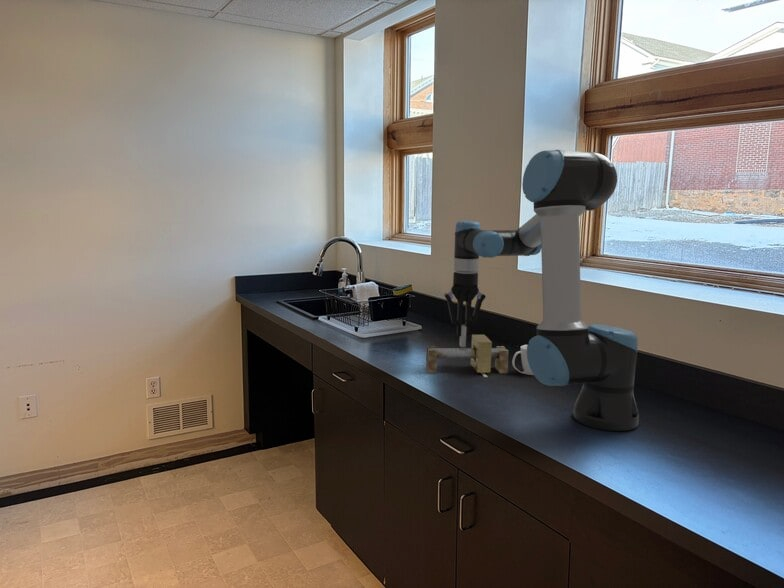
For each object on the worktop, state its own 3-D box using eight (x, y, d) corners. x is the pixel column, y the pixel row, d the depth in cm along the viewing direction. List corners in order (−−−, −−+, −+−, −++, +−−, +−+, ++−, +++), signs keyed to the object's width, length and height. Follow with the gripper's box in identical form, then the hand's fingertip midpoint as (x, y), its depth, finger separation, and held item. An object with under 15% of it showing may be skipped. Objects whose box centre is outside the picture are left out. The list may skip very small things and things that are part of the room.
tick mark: (477, 363, 193) (477, 363, 193) (487, 377, 179) (487, 376, 179) (474, 363, 193) (474, 363, 193) (484, 377, 179) (484, 376, 179)
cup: (546, 375, 183) (548, 349, 182) (518, 378, 179) (520, 351, 178) (533, 368, 189) (534, 343, 188) (505, 371, 186) (507, 346, 184)
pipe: (503, 356, 188) (504, 346, 187) (506, 360, 184) (507, 349, 184) (427, 357, 186) (427, 346, 185) (429, 360, 182) (429, 349, 182)
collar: (483, 363, 191) (484, 334, 189) (490, 372, 182) (491, 342, 180) (470, 363, 190) (471, 334, 189) (477, 372, 181) (478, 342, 180)
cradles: (502, 367, 190) (503, 345, 189) (507, 373, 184) (508, 351, 183) (425, 367, 188) (426, 345, 186) (428, 373, 182) (429, 351, 180)
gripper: (483, 270, 189) (480, 343, 193) (442, 269, 188) (440, 342, 192) (489, 273, 182) (485, 349, 186) (446, 273, 181) (443, 349, 185)
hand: (462, 345), depth 189 cm, fingers closed
